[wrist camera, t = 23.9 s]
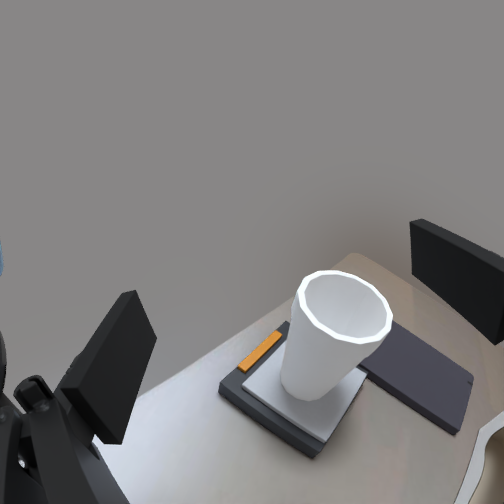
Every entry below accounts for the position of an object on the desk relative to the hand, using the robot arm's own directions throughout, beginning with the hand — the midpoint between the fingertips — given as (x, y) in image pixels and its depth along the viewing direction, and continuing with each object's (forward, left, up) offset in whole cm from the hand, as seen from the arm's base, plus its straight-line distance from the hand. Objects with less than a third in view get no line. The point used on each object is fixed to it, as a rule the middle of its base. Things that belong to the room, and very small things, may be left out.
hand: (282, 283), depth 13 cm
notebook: (+16, +26, -25) cm, 40 cm away
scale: (+1, +12, -25) cm, 28 cm away
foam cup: (+2, +12, -22) cm, 25 cm away
